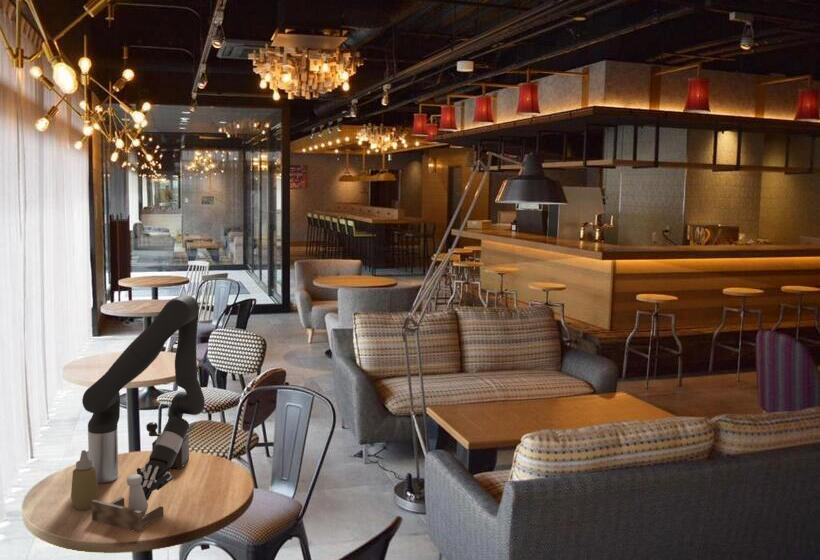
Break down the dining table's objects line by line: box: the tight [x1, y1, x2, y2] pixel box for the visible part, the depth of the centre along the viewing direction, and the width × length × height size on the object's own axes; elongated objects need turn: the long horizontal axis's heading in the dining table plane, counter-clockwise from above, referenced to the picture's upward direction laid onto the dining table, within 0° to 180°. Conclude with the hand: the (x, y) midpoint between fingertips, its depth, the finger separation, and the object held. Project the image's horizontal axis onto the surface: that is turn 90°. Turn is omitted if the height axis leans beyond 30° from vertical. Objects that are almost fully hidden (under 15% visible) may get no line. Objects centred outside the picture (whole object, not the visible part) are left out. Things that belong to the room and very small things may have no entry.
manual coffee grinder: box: [145, 421, 190, 470], centre depth 265 cm, size 16×11×18 cm
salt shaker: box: [126, 473, 149, 517], centre depth 226 cm, size 6×6×13 cm
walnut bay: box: [91, 496, 164, 533], centre depth 225 cm, size 18×11×6 cm, turn 68°
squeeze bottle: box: [70, 449, 100, 511], centre depth 231 cm, size 8×8×18 cm
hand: (142, 500), depth 228 cm, fingers closed
